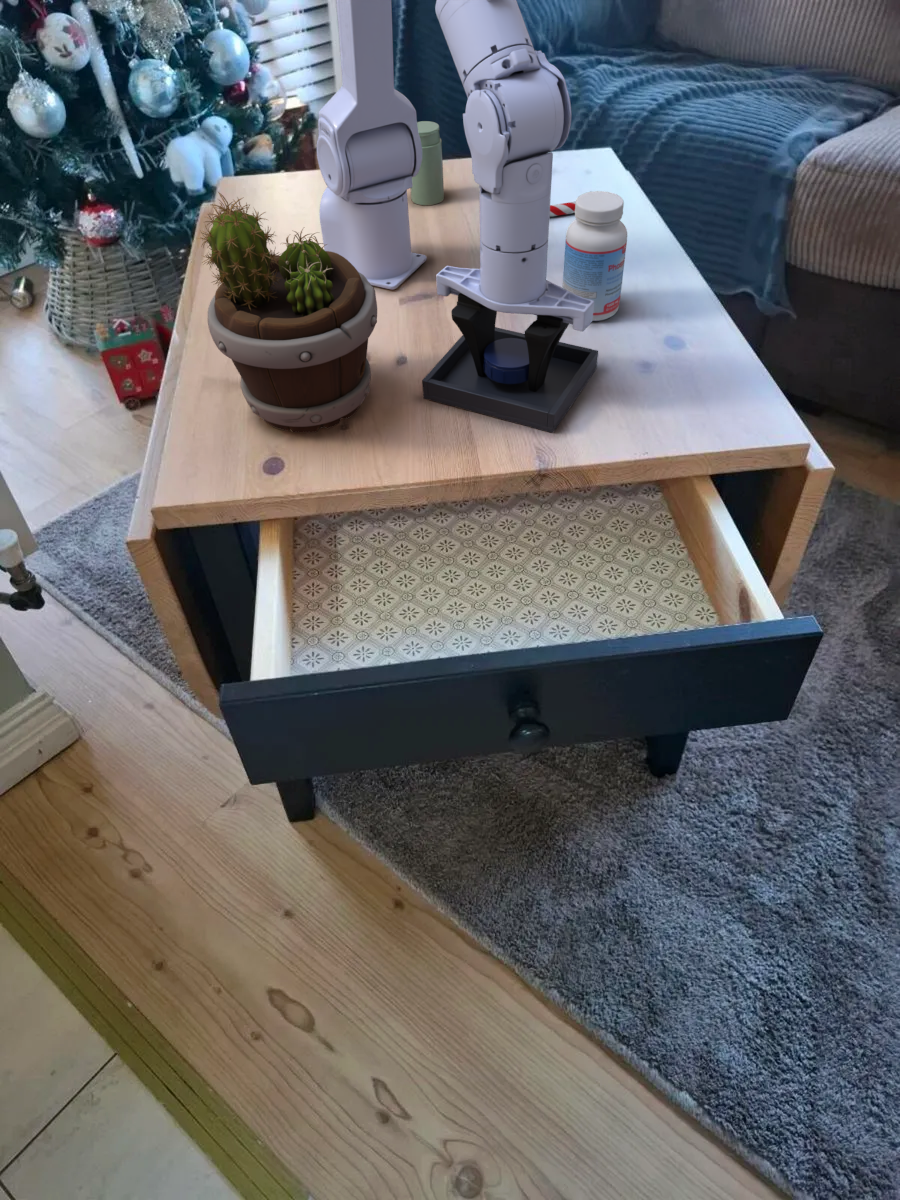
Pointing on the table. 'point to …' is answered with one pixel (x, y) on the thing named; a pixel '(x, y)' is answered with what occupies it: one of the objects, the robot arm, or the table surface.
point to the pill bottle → (596, 252)
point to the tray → (512, 385)
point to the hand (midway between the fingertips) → (511, 378)
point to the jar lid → (507, 361)
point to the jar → (429, 167)
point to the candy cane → (562, 209)
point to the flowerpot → (289, 323)
